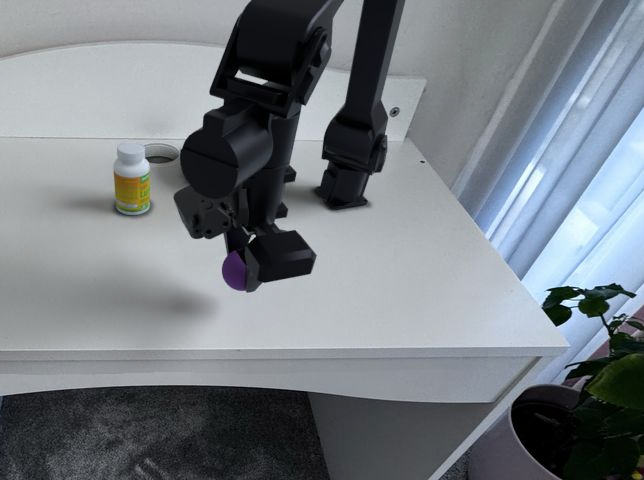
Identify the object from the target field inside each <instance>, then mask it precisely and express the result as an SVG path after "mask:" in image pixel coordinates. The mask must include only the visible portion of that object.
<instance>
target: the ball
mask: <svg viewBox="0 0 644 480" xmlns="http://www.w3.org/2000/svg"><path fill="white" fill-rule="evenodd" d="M238 250H239V249H238ZM221 275H222V278H223V281H224V282H225V284H226V285H227V286H228V287H229V288H231V289H232V290H235V291H238V292H246V291H245V265H244V263H243V262H242V260H241V259H240V257H239V256H238V254H237V253H236V251H233V252H231V253H230V254H229V255H228V256H227V255H226V257H225V258H224V260H223V262H222V265H221Z"/></svg>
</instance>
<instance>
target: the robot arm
mask: <svg viewBox="0 0 644 480" xmlns="http://www.w3.org/2000/svg"><path fill="white" fill-rule="evenodd" d="M344 1H345V0H250V1H248V3H247V4H246V5H245V6H244V8H243V10H242V12H240V13H239V16H238V17H237V18H236V21H235V22H234V25H233V27H232V30H231V33H230V35H229V38H228V40H227V42H226V43H227V44H226V46H225V49H224V51H223V53H222V56H221V59H220V62H219V64H218V66H217V69H216V71H215V74H214V77H213V79H212V82H211V85H210V87H209V91H208V93H209V95H210V96H211V97H215V98H218V99H222V100H223V103H222V105H221V106H219V107H218V108H212V109H210V110H208V111H207V112H205V113H204V115H203V116H202V126H201V127H200V128H198V129H196V130H194V131H193V132H192V133H191V134H189V135H188V136H187V137H186V139H184V140H185V141H184V142H183V145H182V147H181V149H180V150H179V164H180V168H181V171H182V174H183V176H184V179H185V180H186V182H187V183H188V185H187V186H184V187H183V188H181V189H179V190H177V191H176V192H175V193H174V194H173V197H172V198H173V201H174V204H175V206H176V209H177V213H178V214H179V218H180V220H181V222H182V224H183V226H184V227H185V229H186V230H187V233H188V235H189V236H190V237H191V239H193V240H200V239H203V238H204V239H206V240H212V239H215V238H217V237H219V236H221V235H223V239H224V244H225V245H224V246H225V251H226V257H227V256H228V255H229V254H230V253H231V252H233V251H236V253H237V254H238V256H239V257H240V259H241V260H242V262H243V263H244V265H245V291H244V292H245V293H247V294H248V293H254V292H256V291H257V289H258V288H259V287H260V286H261V285H262V284H267V283H271V282H277V281H283V280H287V279H288V280H289V279H293V278H297V277H298V278H299V277H303V276H308V275H309V276H310V275H311V274H312V272H313V271H314V267H315V263H316V260H317V256H318V255H317V253H316V252H315V251H314V250H313V249H312V247H311V246H310V245H309V243H308V242H307V241H306V240H305V239H304V237H303V236H302V235H301V234H300V233H299V232H298V231H297V230H296V229H293V230H286V229H280V228H279V226H278V225H277V224H276V223H275V222H276V220H278V219H279V220H280V219H285V218H287V217H288V212H289V208H288V206H287V205H286V204H285V203H284V202H283V197H284V193H285V188H286V184H288V183H295V181H296V177H297V173H298V172H297V171H296V170H295V169H294V168H293V167H292V165H291V160H292V155H293V150H294V145H295V141H296V136H297V131H298V127H299V122H300V117H301V113H302V106H304V107H306V106H307V104H308V102H309V101H310V98H311V97H312V95H313V93H314V91H315V89H316V87H317V85H318V83H319V81H320V79H321V78H322V75H323V74H324V71H325V69H326V67H327V65H328V63H329V61H330V59H331V56H332V52H333V50H332V44H333V27H334V19H335V16H336V14H337V12H338V11H339V9H340V7H341V6H342V5H343V3H344ZM405 5H406V0H363V1H362V6H361V12H360V18H359V22H358V28H357V34H356V38H355V39H356V40H355V45H354V50H353V56H352V61H351V67H350V73H349V78H348V83H347V90H346V93H345V100H344V103H343V104H342V106H341V107H340V108H339V109H338V111H337V112H336V113H335V115H334V116H333V117H332V119H330V121H329V123H328V124H327V127H326V129H325V132H324V135H323V139H322V140H323V141H322V149H321V160H324V161H328V162H327V167H326V169H324V171H323V174H322V177H321V181H320V184H319V186H315V189H314V191H315V192H316V193H317V194H318V195H319V196H320V197H321V198H322V199H323V201H325V202H326V203H327V204H328V205H329V207H331V209H333V210H340V209H341V210H342V209H346V208H352V207H358V206H365V205H368V203H369V200H368V199H367V198H366V197H365V196H364V194H365V191H366V188H367V185H368V182H369V179H370V177H371V176H373V175H374V174H377V173H378V174H379V173H382V172H383V170H384V166H385V163H386V160H387V154H388V150H389V149H388V148H389V147H388V135H387V134H386V131H387V126H388V121H389V115H388V112H387V110H386V108H385V106H384V104H383V101H382V97H383V93H384V89H385V85H386V81H387V77H388V73H389V69H390V65H391V60H392V57H393V53H394V48H395V44H396V41H397V38H398V32H399V28H400V24H401V20H402V16H403V13H404V8H405ZM238 72H240V73H241V74H242V75H246V76H249V77H252V78H257V79H260V80H263V81H266V82H263V83H258V82H254V81H251V80H247V79H245V78H241V77H237V74H238ZM252 236H255V237H254V238H252ZM251 238H252V239H251ZM238 249H239V250H238Z"/></svg>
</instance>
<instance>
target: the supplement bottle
mask: <svg viewBox="0 0 644 480" xmlns="http://www.w3.org/2000/svg"><path fill="white" fill-rule="evenodd" d="M116 156H117V158H116V159H115V160H114V162H113V183H114V185H113V186H114V199H115V200H114V201H115V202H114V203H115V207H116V209H117V211H118V212H120V213H122V214H124V215H127V216H138V215H142V214H144V213H147V212H148V210H149V209H150V207H151V167H150V163H149V161H148V159H147V158H145V157H146V147H145V145H144V144H143V143H141V142H139V141H134V140H126V141H123V142H120V143H118V144H117V146H116Z"/></svg>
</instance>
